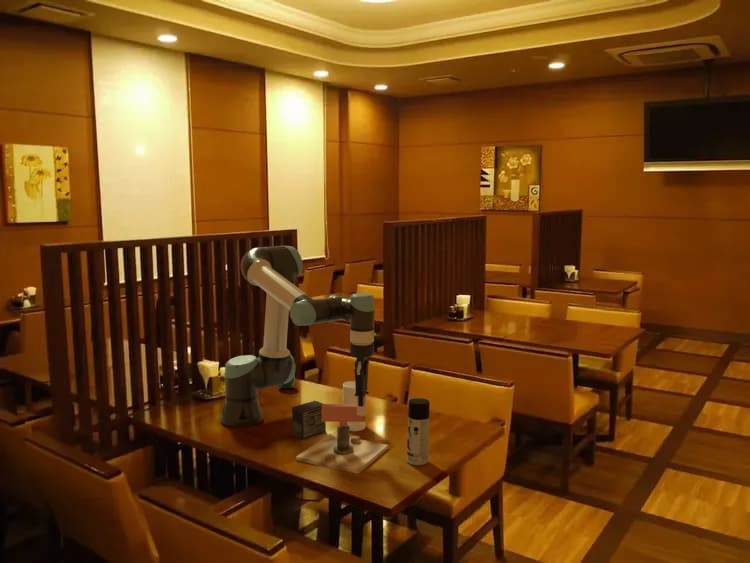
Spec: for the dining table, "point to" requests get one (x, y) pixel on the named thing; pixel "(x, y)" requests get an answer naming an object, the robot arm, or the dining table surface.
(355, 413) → the pink rectangular block
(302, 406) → the small box
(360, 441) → the post board
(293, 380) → the sphere
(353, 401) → the cup
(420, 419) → the spray can
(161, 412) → the dining table surface
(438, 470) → the dining table surface
